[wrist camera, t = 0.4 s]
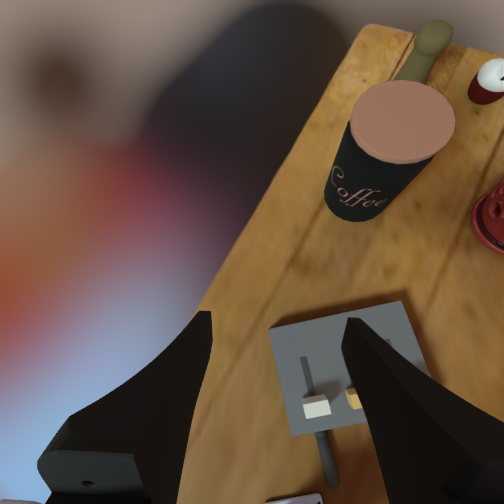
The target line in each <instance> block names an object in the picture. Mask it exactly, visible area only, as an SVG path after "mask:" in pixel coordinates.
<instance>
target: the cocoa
mask: <svg viewBox="0 0 504 504" xmlns="http://www.w3.org/2000/svg"><path fill="white" fill-rule="evenodd" d="M468 96H469V98H470V99H471V100H472V101H473V102H474V103H477V104H489V103H492V102H495V101H497V100H498V99H500V98H501V97H503V96H504V58H496V59H492V60H490V61H487V62H485V63H484V64H483V66H482V67H481V68H480V71H479V72H478V73H477V74H476V75H475V77H474V78H473V80H472V82H471V84H470V86H469V89H468Z"/></svg>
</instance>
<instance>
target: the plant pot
mask: <svg viewBox="0 0 504 504" xmlns="http://www.w3.org/2000/svg"><path fill="white" fill-rule="evenodd" d="M471 224H472V228H473V231H474V233H475V234H476V236H477V237H478V238H479V240H480V241H481V242H482V243H483V244H484V245H486V246H487V247H488V248H490V249H491V250H493V251H495V252H497V253H499V254H502V255H504V178H503V179H502V180H501V181H500V182H499V183H498V184H497V185H496V186H495V187H494V188H493V189H492V191H491V192H490V193H488V194H486V195H484V196H483V197H482V198H480V199H479V200H478V201H477V203H476V204H475V205H474V207H473V210H472V213H471Z"/></svg>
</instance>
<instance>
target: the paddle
mask: <svg viewBox="0 0 504 504" xmlns="http://www.w3.org/2000/svg"><path fill="white" fill-rule="evenodd" d="M301 400H302V404H303V408H304V412H305V416H306V419H309V418H314V417H319V416H324V415H329V414H331V410H330V406H329V403H328V399H327V398H326V396H325V394H321V395H316V396H312V397H307V398H302V399H301Z"/></svg>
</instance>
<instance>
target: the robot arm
mask: <svg viewBox="0 0 504 504" xmlns="http://www.w3.org/2000/svg"><path fill="white" fill-rule="evenodd" d="M212 342H213V336H212V320H211V311H199V312H198V313H197V314H196V315H195V316H194V318H193V319H192V320H191V321H190V323H189V324H188V325H187V326H186V327H185V328H184V330H183V331H182V332H181V333H180V334H179V335H178V336H177V337H176V339H175V340H174V341H173V342H172V343H171V344H170V345H169V346H168V347H167V348H166V349H165V350H164V351H163V352H162V353H160V354H159V355H158V356H157V357H156V358H155V359H154V360H153V361H152V362H150V363H149V364H148V365H147V366H146V367H144V368H143V369H142V370H141V371H139V372H138V373H137V374H136V375H134V376H133V377H132V378H130V379H129V380H128V381H126V382H125V383H124V384H122V385H120V386H119V387H117V388H116V389H114V390H113V391H111V392H110V393H108V394H107V395H105V396H104V397H102V398H100V399H99V400H97V401H95V402H94V403H92V404H90V405H88V406H87V407H85V408H83V409H81V410H80V411H78V412H76V413H74V414H73V415H71V416H69V418H68V419H67V420H66V421H65V423H64V424H63V425H62V427H61V428H60V429H59V431H58V432H57V433H56V435H55V436H54V438H53V439H52V441H51V442H50V443H49V445H48V446H47V448H46V449H45V451H44V452H43V453H42V455H41V456H40V458H39V459H38V462H37V468H38V471H39V473H40V475H41V477H42V478H43V480H44V481H45V483H46V484H47V485H48V487H49V488H50V490H51V492H52V493H51V495H50V497H49V498H48V500H47V502H46V503H45V504H176V502H177V497H178V491H179V485H180V480H181V474H182V469H183V463H184V458H185V453H186V448H187V443H188V438H189V433H190V428H191V423H192V418H193V414H194V409H195V406H196V402H197V398H198V395H199V392H200V388H201V385H202V382H203V379H204V375H205V372H206V369H207V365H208V362H209V358H210V353H211V347H212ZM341 349H342V353H343V357H344V361H345V365H346V367H347V370H348V373H349V375H350V378H351V380H352V383H353V385H354V388H355V390H356V393H357V395H358V398H359V400H360V403H361V405H362V408H363V410H364V413H365V416H366V419H367V422H368V425H369V429H370V432H371V435H372V439H373V442H374V446H375V449H376V453H377V456H378V460H379V464H380V467H381V471H382V475H383V479H384V483H385V487H386V491H387V495H388V499H389V503H390V504H504V423H503V422H502V421H500V420H498V419H496V418H494V417H493V416H491V415H489V414H487V413H486V412H484V411H482V410H480V409H479V408H477V407H475V406H473V405H472V404H470V403H468V402H467V401H465V400H464V399H462V398H460V397H459V396H457V395H456V394H454V393H453V392H451V391H449V390H448V389H446V388H445V387H443V386H442V385H440V384H439V383H437V382H436V381H435V380H433V379H432V378H430V377H429V376H428V375H426V374H425V373H424V372H422V371H421V370H419V369H418V368H417V367H416V366H414V365H413V364H412V363H411V362H409V361H408V360H407V359H406V358H404V357H403V356H402V355H401V354H400V353H398V352H397V351H396V350H395V349H394V348H393V347H391V346H390V345H389V344H388V343H387V342H386V341H385V340H384V339H383V338H381V337H380V336H379V335H378V334H377V333H376V332H375V331H374V330H373V329H372V328H371V327H370V326H368V325H367V324H366V323H365V322H364V321H363V320H362V319H361V318H356V317H348V319H347V323H346V327H345V331H344V335H343V339H342V344H341ZM318 502H320V504H323V502H322V498H321V495H320V494H319V493H315V494H309V495H304V496H298V497H293V498H287V499H282V500H277V501H271V502H266V503H265V504H317V503H318ZM0 504H41V503H38V502H34V501H24V500H23V501H22V500H7V499H2V500H0Z"/></svg>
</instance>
